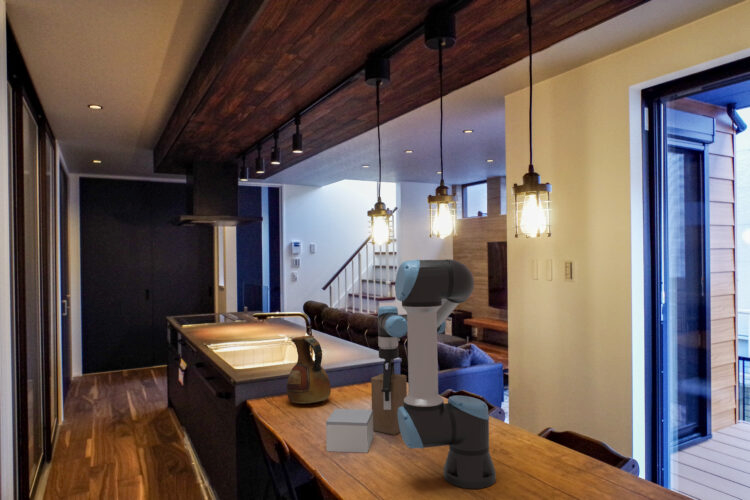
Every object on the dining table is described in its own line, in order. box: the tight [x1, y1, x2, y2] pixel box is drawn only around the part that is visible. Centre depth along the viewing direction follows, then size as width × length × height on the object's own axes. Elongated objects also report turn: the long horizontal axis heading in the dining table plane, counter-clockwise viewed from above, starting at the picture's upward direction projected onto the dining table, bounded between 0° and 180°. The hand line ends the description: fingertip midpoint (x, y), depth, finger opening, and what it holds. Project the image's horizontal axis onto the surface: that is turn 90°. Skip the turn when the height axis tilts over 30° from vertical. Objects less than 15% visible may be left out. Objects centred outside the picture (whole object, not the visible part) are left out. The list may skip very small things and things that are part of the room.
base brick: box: [325, 408, 374, 454], centre depth 177 cm, size 14×14×10 cm
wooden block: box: [370, 372, 408, 436], centre depth 191 cm, size 10×10×20 cm
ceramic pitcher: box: [286, 335, 332, 404], centre depth 228 cm, size 20×20×30 cm
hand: (389, 404), depth 191 cm, fingers closed on wooden block, 12 cm apart
